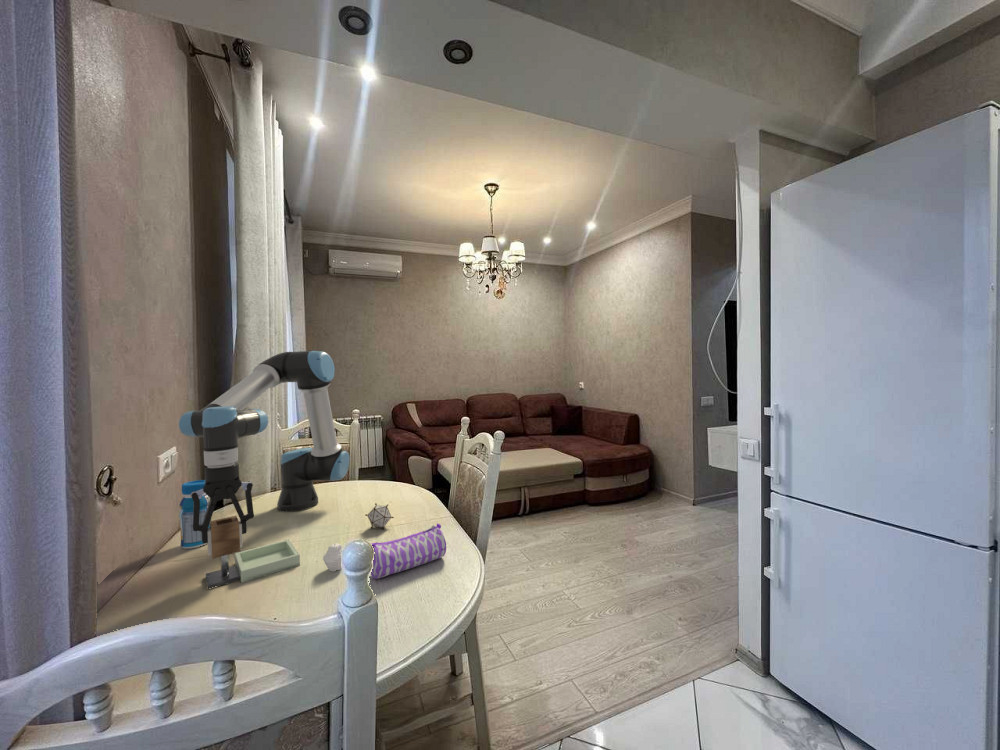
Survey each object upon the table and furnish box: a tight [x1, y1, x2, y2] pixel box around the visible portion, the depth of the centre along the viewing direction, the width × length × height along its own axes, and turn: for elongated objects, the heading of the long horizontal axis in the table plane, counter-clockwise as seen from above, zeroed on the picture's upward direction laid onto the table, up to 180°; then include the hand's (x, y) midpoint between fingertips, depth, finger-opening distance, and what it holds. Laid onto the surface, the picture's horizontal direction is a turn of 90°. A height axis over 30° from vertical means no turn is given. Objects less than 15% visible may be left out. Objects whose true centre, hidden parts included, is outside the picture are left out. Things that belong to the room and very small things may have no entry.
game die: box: [364, 502, 395, 531], centre depth 139 cm, size 9×8×10 cm
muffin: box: [322, 543, 344, 572], centre depth 110 cm, size 6×6×7 cm
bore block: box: [210, 515, 241, 559], centre depth 107 cm, size 6×6×8 cm
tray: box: [234, 539, 301, 583], centre depth 114 cm, size 14×14×3 cm
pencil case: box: [370, 522, 447, 580], centre depth 110 cm, size 22×9×10 cm, turn 131°
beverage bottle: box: [178, 479, 212, 550], centre depth 129 cm, size 8×8×20 cm
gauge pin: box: [205, 554, 241, 590], centre depth 106 cm, size 8×8×9 cm
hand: (225, 549), depth 107 cm, fingers closed on bore block, 6 cm apart
